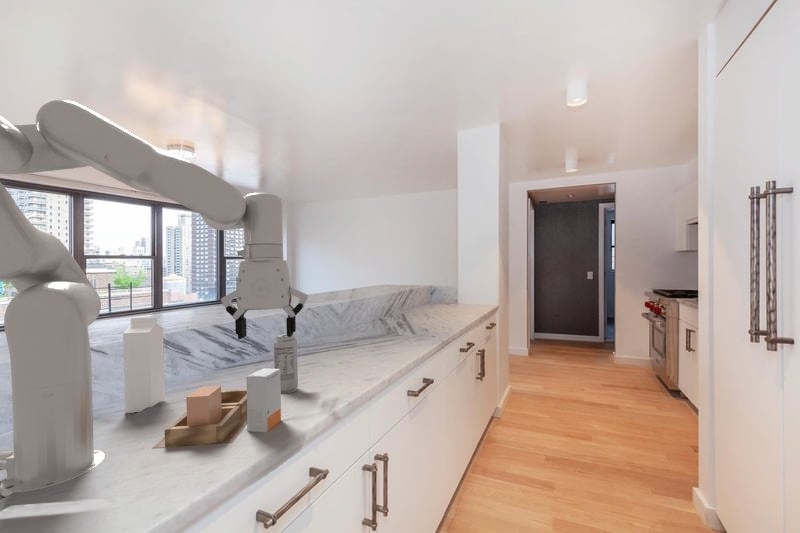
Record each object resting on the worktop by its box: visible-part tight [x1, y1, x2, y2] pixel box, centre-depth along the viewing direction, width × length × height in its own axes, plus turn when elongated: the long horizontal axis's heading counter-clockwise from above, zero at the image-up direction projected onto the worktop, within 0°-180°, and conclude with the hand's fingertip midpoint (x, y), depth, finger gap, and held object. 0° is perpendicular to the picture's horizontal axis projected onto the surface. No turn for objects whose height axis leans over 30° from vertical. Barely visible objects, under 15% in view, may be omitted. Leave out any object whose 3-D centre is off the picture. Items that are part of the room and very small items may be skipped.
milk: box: [122, 316, 166, 414], centre depth 90 cm, size 6×6×22 cm
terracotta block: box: [185, 385, 222, 426], centre depth 73 cm, size 4×6×8 cm, turn 5°
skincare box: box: [246, 367, 282, 433], centre depth 75 cm, size 6×4×12 cm
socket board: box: [152, 388, 247, 449], centre depth 78 cm, size 14×22×4 cm, turn 5°
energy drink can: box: [273, 333, 299, 395], centre depth 100 cm, size 6×6×15 cm
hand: (266, 336), depth 76 cm, fingers open, 9 cm apart
